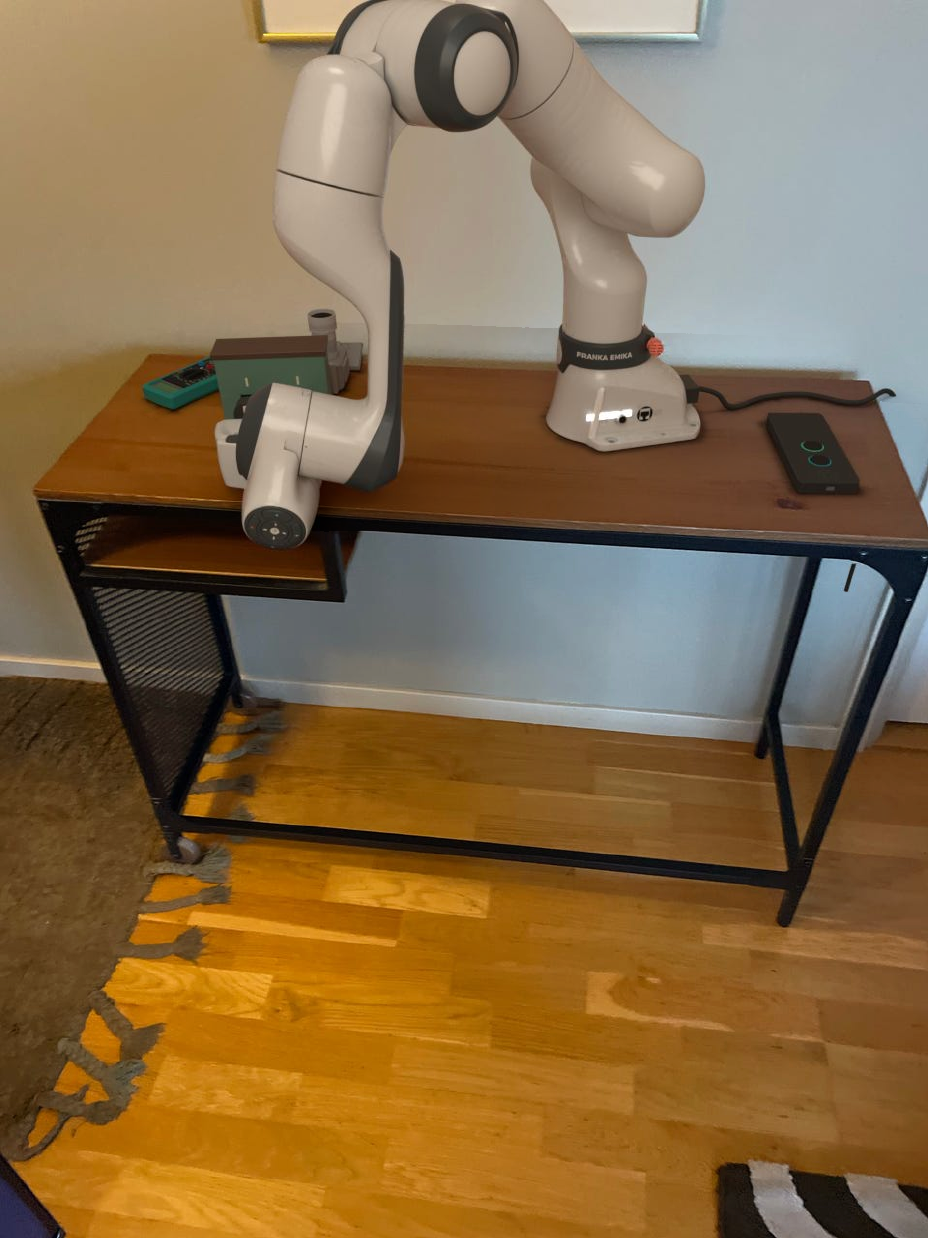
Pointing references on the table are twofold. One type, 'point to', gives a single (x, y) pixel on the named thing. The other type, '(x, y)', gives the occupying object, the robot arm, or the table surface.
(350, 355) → the camera
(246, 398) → the black knob
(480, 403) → the table surface
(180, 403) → the digital multimeter
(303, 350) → the console
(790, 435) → the smart home device
